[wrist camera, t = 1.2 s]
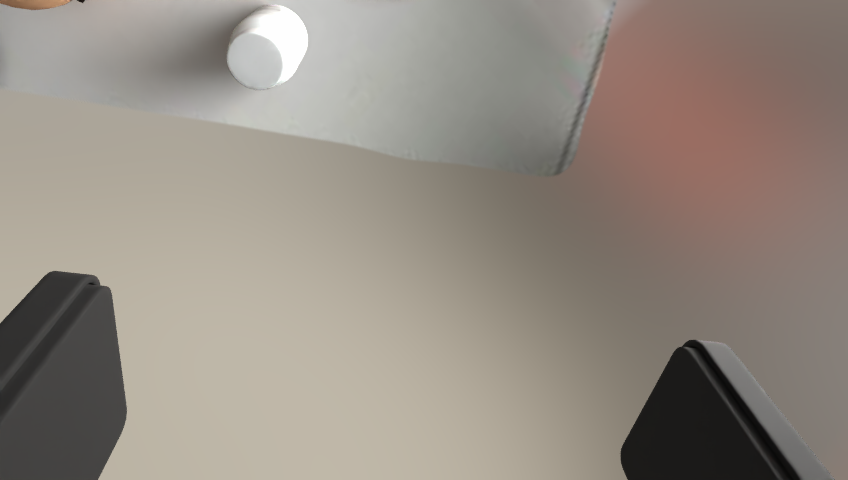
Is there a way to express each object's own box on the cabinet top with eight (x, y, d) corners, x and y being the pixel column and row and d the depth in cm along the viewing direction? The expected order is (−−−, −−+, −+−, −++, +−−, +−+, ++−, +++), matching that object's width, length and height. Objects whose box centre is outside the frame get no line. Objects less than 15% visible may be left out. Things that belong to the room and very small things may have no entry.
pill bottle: (233, 35, 39) (202, 61, 32) (272, -11, 38) (249, 6, 31) (281, 80, 41) (261, 113, 34) (321, 38, 39) (307, 63, 33)
